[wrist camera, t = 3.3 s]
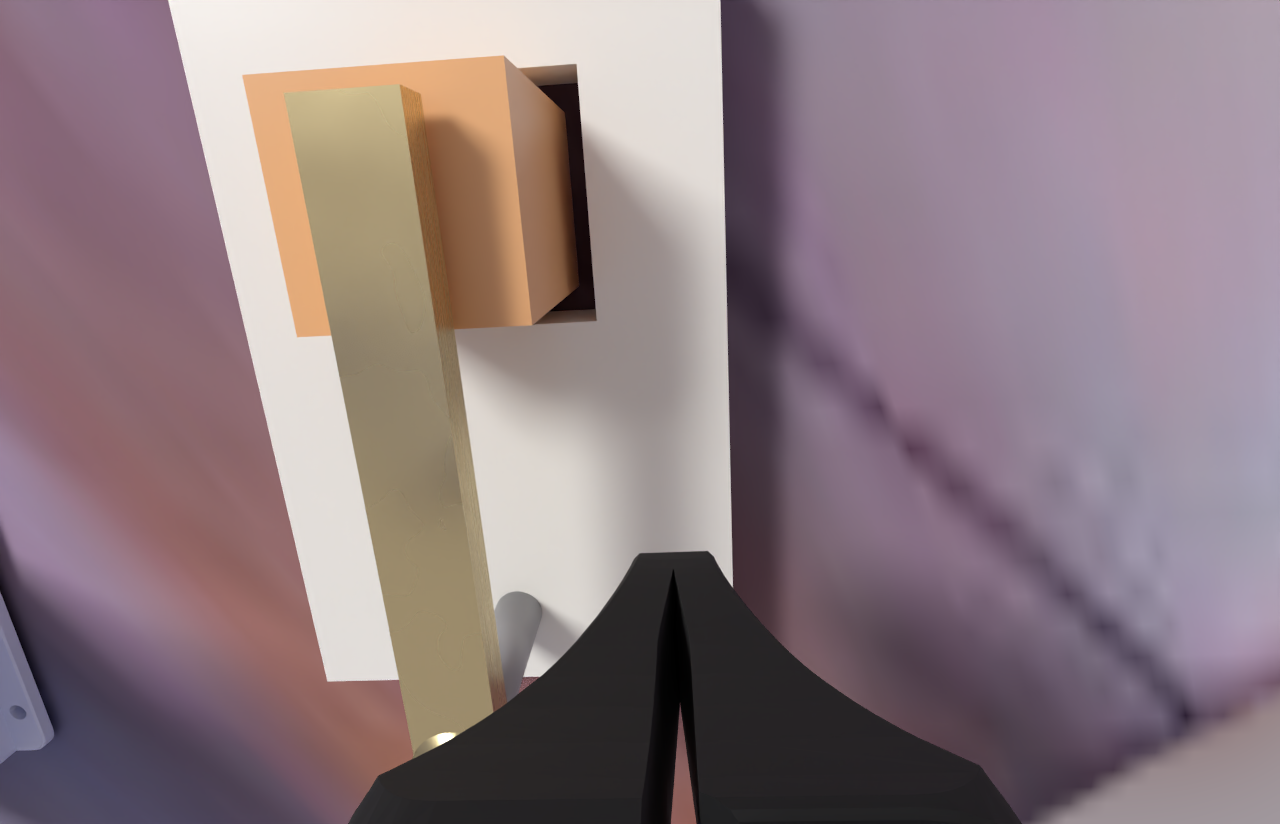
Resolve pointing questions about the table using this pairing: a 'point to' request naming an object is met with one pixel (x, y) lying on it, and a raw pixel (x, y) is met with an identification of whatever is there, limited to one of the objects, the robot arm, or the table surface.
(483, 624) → the bar
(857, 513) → the table surface
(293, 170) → the plug
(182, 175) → the table surface
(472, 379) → the socket block
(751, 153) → the table surface
